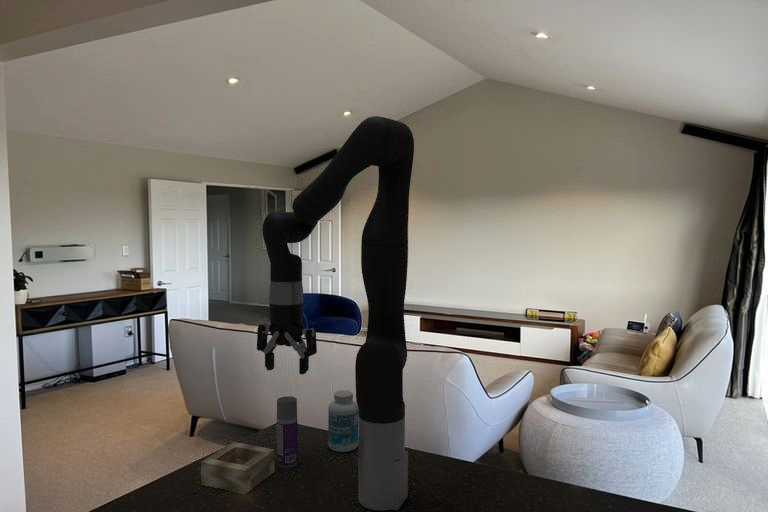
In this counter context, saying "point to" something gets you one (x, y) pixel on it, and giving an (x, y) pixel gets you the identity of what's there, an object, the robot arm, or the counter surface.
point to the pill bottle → (343, 422)
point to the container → (287, 432)
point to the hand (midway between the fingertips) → (286, 371)
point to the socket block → (238, 467)
